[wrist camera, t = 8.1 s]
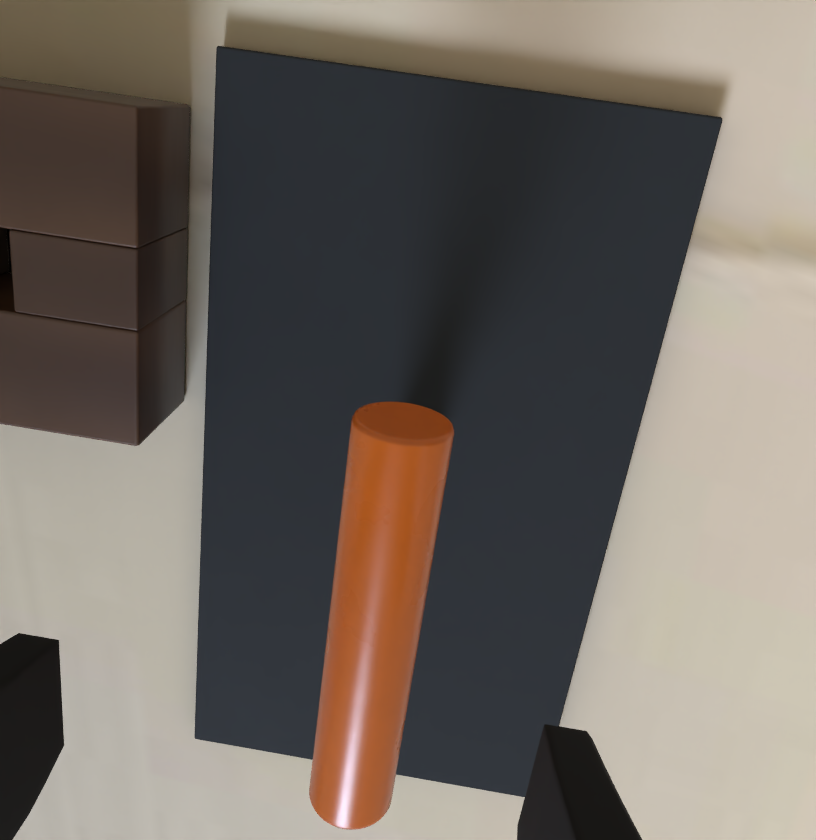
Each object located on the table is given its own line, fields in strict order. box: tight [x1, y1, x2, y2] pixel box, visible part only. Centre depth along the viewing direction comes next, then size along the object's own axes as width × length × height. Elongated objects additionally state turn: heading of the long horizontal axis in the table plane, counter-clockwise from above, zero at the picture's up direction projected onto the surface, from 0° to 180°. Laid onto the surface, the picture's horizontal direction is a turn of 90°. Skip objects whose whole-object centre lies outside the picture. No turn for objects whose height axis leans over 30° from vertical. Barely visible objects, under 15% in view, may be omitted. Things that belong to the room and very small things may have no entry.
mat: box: [195, 46, 722, 797], centre depth 21 cm, size 20×11×1 cm, turn 173°
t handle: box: [309, 402, 454, 829], centre depth 17 cm, size 8×2×8 cm, turn 172°
